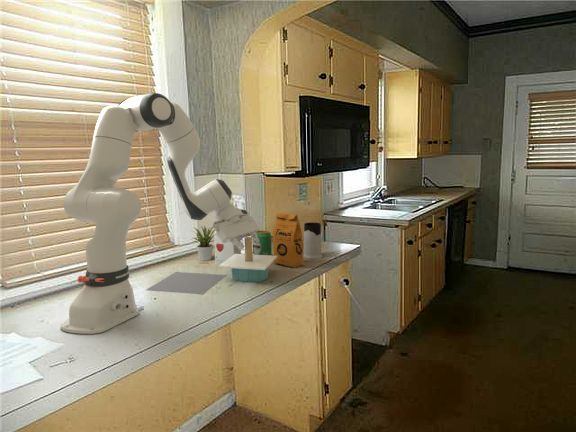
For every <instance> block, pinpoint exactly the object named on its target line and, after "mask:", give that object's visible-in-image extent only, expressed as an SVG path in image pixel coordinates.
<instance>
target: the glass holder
mask: <svg viewBox="0 0 576 432" xmlns="http://www.w3.org/2000/svg"><path fill="white" fill-rule="evenodd" d="M303 229H304V231H303V258H306V259H320V258H322V257H323V255H322V240H323V235H324V224H322V223H320V222H314V221H313V222H305V223H304V225H303Z"/></svg>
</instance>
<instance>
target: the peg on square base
mask: <svg viewBox="0 0 576 432" xmlns="http://www.w3.org/2000/svg"><path fill="white" fill-rule="evenodd" d="M243 239H244V242H243V243H244V253H241V254H234V255H233V256H231V257H230V258H229V259H227V260H226V261H224V262H223V263H222V264H220V265H217V267H218V269H219V268H221V269H222V268H224V269H231V268H236V269H254V270H265V269H266V268H267V267H268V268H269V267H270V266H271V264H272V263H274V260H275V259H276V258H277V256H274V255H272V256H271V255H254V248H253V237H251V236H248V237H245V238H243Z"/></svg>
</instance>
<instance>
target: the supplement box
mask: <svg viewBox="0 0 576 432" xmlns="http://www.w3.org/2000/svg"><path fill="white" fill-rule="evenodd" d="M213 235H214V237H213V242H214V264H215V266H219V265H220V264H222V263H223V262H224V261H226V260H227V259H229V258H230V257H231V256H233V255H234V254H242V249H238V247H237V246H235V245H234V244H232V243H231V242H228V243H223V242H222V241H221V240H220V238H219V237H218V235H217V233H216V230H215V231H214V232H213ZM241 240H242V238H241V239H238V240H237V241H238V242H240V243H242V242H241Z"/></svg>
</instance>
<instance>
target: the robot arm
mask: <svg viewBox="0 0 576 432" xmlns="http://www.w3.org/2000/svg"><path fill="white" fill-rule="evenodd" d="M154 129H156V130H158V132H160V133H161V136H162V137H163V139H164V140H165V143H166V144H167V147H168V149H169V150H168V151H169V153H168V154H169V155H168V157H167V159H166V160H167V161H166V162H167V166H168V169H169V171H170V174H171V177H172V179H173V182H174V184H175V186H176V190H177V192H178V194H179V197H180V200H181V202H182V206H183V207H182V208H183V210H184V212H185V214H186V215H187V216H188V217H189V218H190V219H191V220H194V221H201V220H203V219H205V218H206V217H207V216H208V215H209V214H211V213H212V214H213V215H214V218H215V220H216V221H214V222H213V224H212V227H214V228H213V229H214V230H215V231H216V233H217V235H218V237H219V238H220V240H221V241H222V242H223V243H228V242H231V243H232V244H234V245H235V246H237V247H238V249H241V250H243V248H245V244H243V242H241V243H240V242H238V241H237V240H238V239H241V240H242V239H244V238H245V237H252V244H253V245H254V244H258V243H259V240H258V238H257V234H256V233H257V232H258V231H261V230H260V226H259V224H258V223H257V222H256V220H255V219H254V218H253V217H252V216H251V215H250V212H249V210H247V209H241V208H239V207H238V208H237V207H236V206H235V205H234V204H233V203H232V202H231V199H232V196H233V195H232V194H233V192H232V190H231V189H230V187H229V186H228V185H227V183H226V182H225V180H222V179H218V178H214V179H213V180H212V181H210V182H208V183H206V184H205V185H203V186H202V187H201V188H199V189H198V190H196V191H194V192H192V191H191V189H190V186H189V183H188V181H187V179H186V170H187V168H188V166H189V165H190V163H192V161H193V160H194V158H195V157H196V155H197V153H198V152H199V150H200V148H201V147H200V146H201V138H200V136H199V133H198V131H197V130H196V127H195V126H194V124H193V122H192V120H191V119H190V118H189V116H188V115H187V114H186V112H185V111H184V110H183V108H182V107H181V106H180V105H179V104H178V103H176V102H171V101H170V99H168V97H166V96H165V95H164V94H161V93H158V92H149V93H146V94H139V95H135V96H132V97H129V98H126V99H124V100H122V101H120V103H118V104H117V105H109V106H105V107H104V108H102V110H101V112H100V114H99V116H98V119H97V121H96V124H95V127H94V132H93V137H92V143H91V148H90V152H89V157H88V162H87V165H86V167H85V170H84V172H83V173H82V175H81V177H80V178H79V180H78V182H77V183H76V185H75V186H74V187H72V188H71V189H70V190H68V192H66V194H65V196H64V197H63V203H62V204H63V210H64V212H65V214H66V215H68V217H70V218H72V219H75V220H77V221H79V222H81V223H89V224H91V223H92V224H95V230H94V234H93V237H92V238H91V239H90V240H89V241H87V242H86V245H85V257H86V266H87V270H86V272H85V275H78V277H77V282H78V283H83V284H84V286H83V287H82V288H81V290H80V291H79V293H78V294H77V296H76V297H75V299H73V301H72V303H71V304H70V306H69V309H68V311H69V312H68V315H69V316H68V318H67V320H65V321H64V322H63V323H61V324H60V325H59V326H60V330H61V331H63V332H67V333H72V334H81V335H90V334H91V335H93V334H100V333H104V332H106V331H108V330H110V329H113V328H114V327H116V326H118V325H120V324H122V323H124V322H126V321H128V320H130V319H132V318H134V317H136V316H138V315H139V314H140V310H139V308H137V306H136V301H135V300H136V299H135V295H134V289H133V286H132V284H131V283H130V280H129V278H130V269H129V265H128V263H127V247H126V246H127V245H126V243H127V236H128V233H129V230H130V229H131V226H132V225H133V223H134V222H135V221H136V220H137V219H138V218H139V217H140V214H141V212H142V202H141V199H140V197H139V195H138V194H137V193H136V192H134V191H131V190H130V189H126V188H122V187H115V186H116V184H117V182H118V181H119V179H120V178H121V177H122V176H124V175H125V174H126V173H127V172H128V171H129V168H130V167H129V166H130V162H131V161H130V160H131V154H132V149H133V142H134V136H135V134H136V133H137V132H139V131H140V132H141V131H145V132H146V131H152V130H154Z"/></svg>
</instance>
